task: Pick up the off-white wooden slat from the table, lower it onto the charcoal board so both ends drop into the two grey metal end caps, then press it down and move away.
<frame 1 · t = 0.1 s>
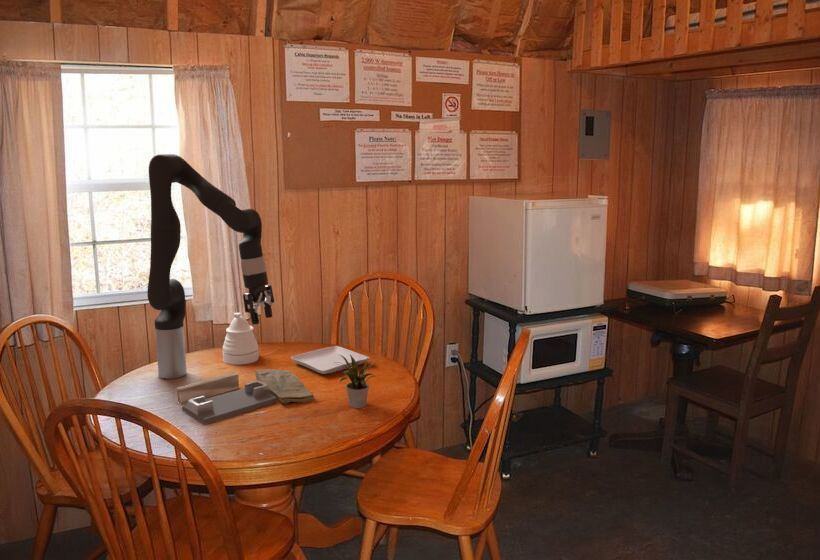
hand: (262, 320, 215), 22 cm above the table, tool pointing down, fingers open, 8 cm apart
house plant: (353, 405, 204), on the table
salad plate: (330, 366, 241), on the table
stone slab: (282, 390, 218), on the table
honey pot: (241, 359, 247), on the table
end caps: (229, 396, 202), on the base board, point 3 cm above the table
slat: (209, 395, 212), on the table
base board: (230, 406, 202), on the table
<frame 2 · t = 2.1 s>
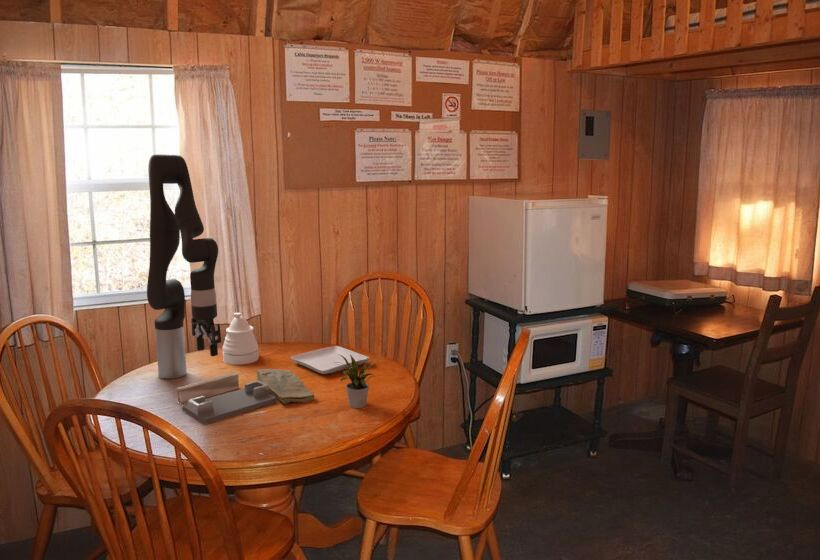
hand: (207, 352, 209), 14 cm above the table, tool pointing down, fingers open, 8 cm apart
nothing on the table moved.
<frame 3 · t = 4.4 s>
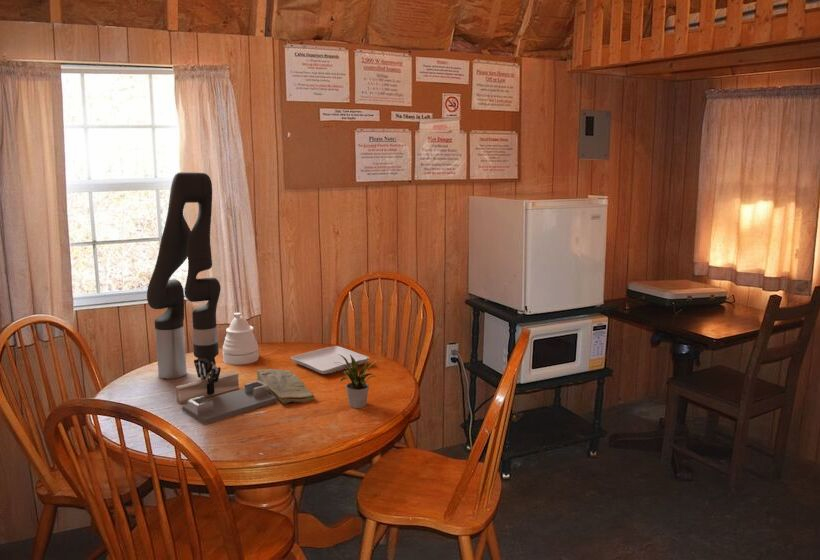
hand: (208, 392, 211), 1 cm above the table, tool pointing down, fingers closed on slat, 2 cm apart
slat: (208, 394, 212), on the table, touching gripper
everything else where it was.
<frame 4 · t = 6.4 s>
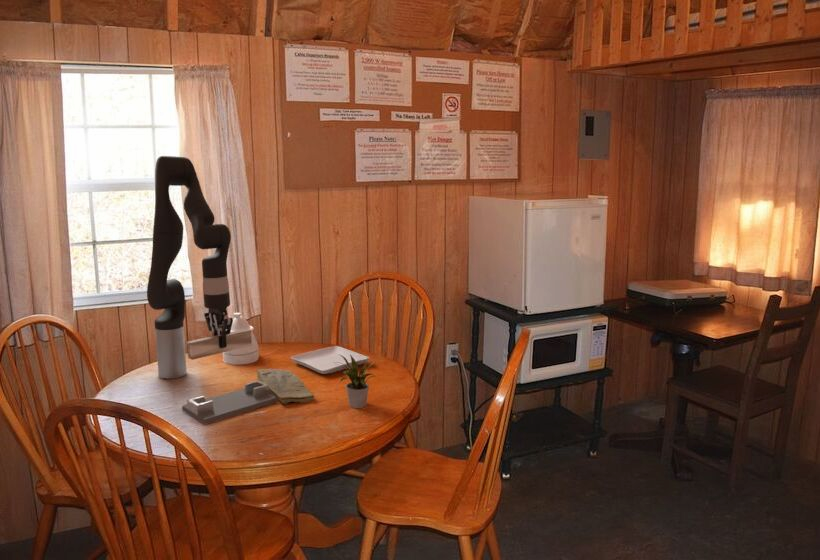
hand: (220, 346, 202), 18 cm above the table, tool pointing down, fingers closed on slat, 2 cm apart
slat: (221, 351, 202), point 16 cm above the table, touching gripper
everything else where it was.
when the fingers open (3 cm above the table, at t = 9.0 s): slat stays where it is, resting on base board.
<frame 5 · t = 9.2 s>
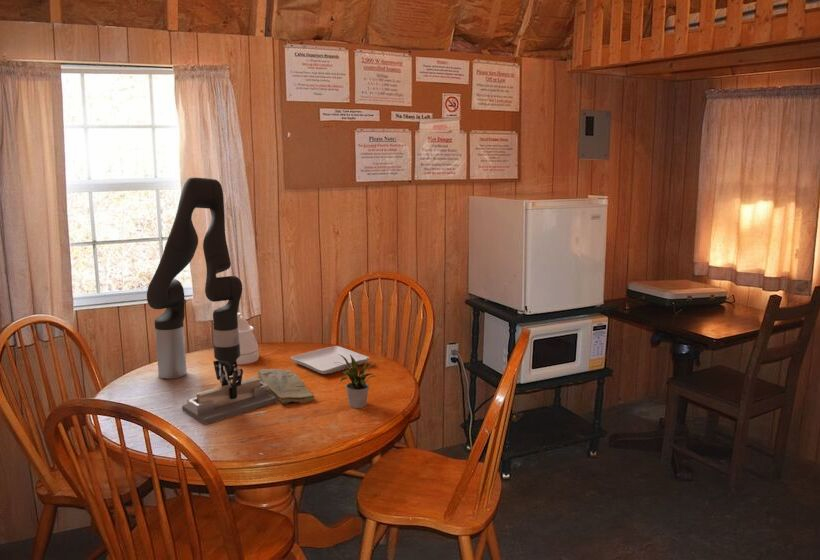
hand: (229, 396, 202), 3 cm above the table, tool pointing down, fingers open, 4 cm apart
slat: (229, 401, 202), point 1 cm above the table, touching base board
everything else where it was.
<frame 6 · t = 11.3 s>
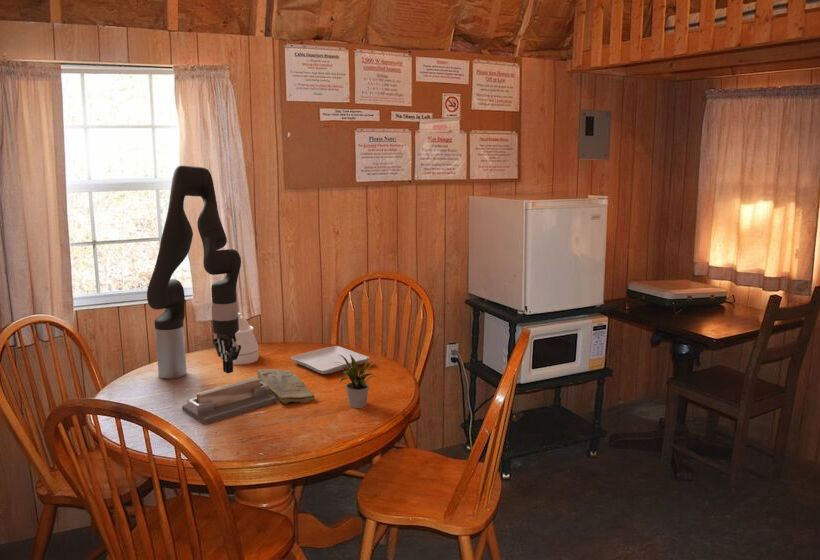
hand: (228, 371, 200), 11 cm above the table, tool pointing down, fingers closed
nothing on the table moved.
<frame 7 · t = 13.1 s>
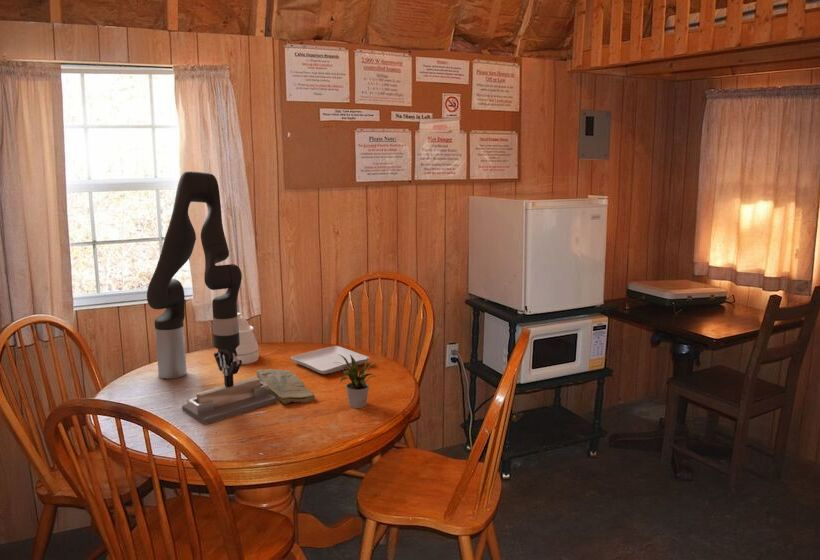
hand: (229, 386, 201), 7 cm above the table, tool pointing down, fingers closed
slat: (229, 401, 202), point 1 cm above the table, touching base board, gripper
everything else where it was.
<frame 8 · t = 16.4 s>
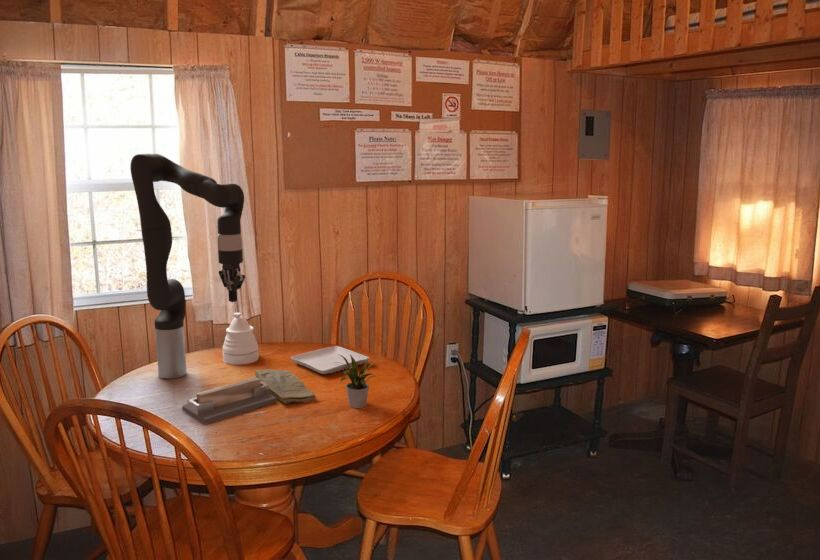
hand: (232, 301, 213), 29 cm above the table, tool pointing down, fingers closed
slat: (229, 401, 202), point 1 cm above the table, touching base board
everything else where it was.
at the end: slat 0.1 cm off-centre on the base board, point 1.5 cm above the base board's base; slat tilted 0°; the gripper is holding nothing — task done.
